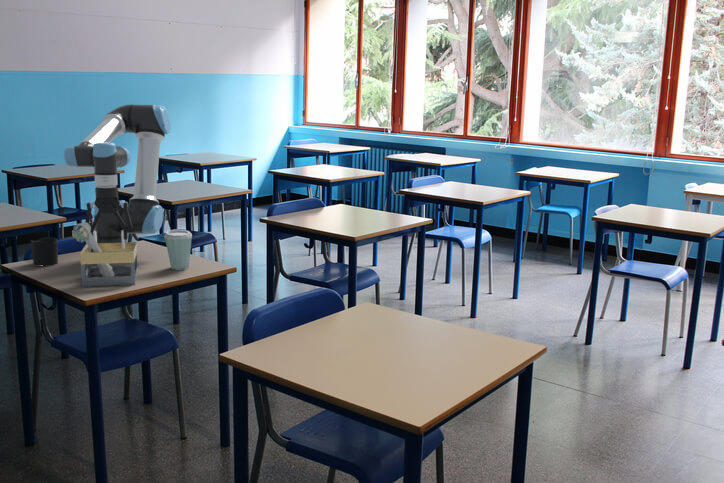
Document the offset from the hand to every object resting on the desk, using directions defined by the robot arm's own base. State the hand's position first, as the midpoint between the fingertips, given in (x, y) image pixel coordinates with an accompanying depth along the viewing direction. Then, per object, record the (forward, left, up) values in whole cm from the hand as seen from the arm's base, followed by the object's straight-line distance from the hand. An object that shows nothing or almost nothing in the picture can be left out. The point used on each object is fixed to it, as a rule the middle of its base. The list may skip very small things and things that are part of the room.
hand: (109, 249), depth 241 cm
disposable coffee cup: (-13, +24, -12) cm, 30 cm away
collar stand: (0, 0, -11) cm, 11 cm away
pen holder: (-30, -27, -12) cm, 42 cm away
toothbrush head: (+1, -1, -11) cm, 11 cm away
